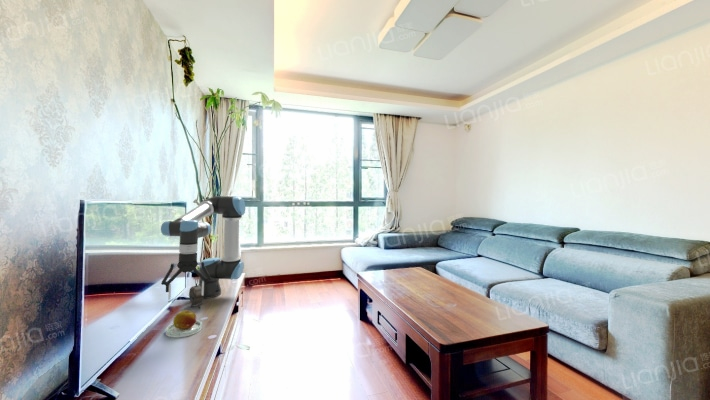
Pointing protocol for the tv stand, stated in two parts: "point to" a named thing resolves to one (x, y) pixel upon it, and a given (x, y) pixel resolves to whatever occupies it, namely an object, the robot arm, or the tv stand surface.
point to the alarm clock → (196, 295)
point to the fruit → (184, 319)
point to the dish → (183, 330)
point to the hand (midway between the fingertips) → (186, 296)
